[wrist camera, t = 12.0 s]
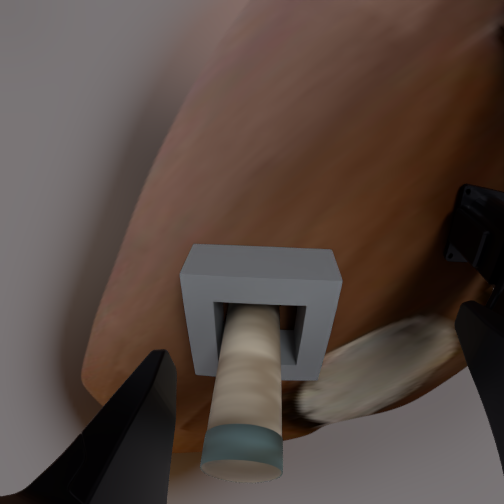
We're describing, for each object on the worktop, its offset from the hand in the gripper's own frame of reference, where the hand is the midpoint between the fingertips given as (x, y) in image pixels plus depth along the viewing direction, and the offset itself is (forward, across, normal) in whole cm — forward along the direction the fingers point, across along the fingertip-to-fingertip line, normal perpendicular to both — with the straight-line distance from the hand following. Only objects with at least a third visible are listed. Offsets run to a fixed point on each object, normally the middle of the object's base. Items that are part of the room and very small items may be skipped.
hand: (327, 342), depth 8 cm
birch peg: (+13, +3, +9) cm, 16 cm away
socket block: (+13, +2, +9) cm, 16 cm away
